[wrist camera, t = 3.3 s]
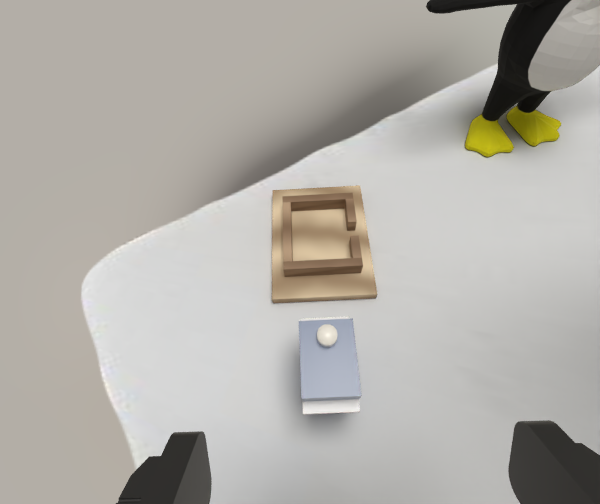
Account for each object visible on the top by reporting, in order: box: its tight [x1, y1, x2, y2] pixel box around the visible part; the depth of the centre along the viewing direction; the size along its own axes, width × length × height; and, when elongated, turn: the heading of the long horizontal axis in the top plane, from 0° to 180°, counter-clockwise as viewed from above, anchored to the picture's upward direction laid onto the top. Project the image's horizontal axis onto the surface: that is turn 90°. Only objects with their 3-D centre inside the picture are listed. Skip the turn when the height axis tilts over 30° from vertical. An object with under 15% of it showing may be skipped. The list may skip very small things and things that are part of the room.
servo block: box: [299, 316, 362, 415], centre depth 31 cm, size 8×4×11 cm, turn 2°
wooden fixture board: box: [272, 186, 377, 303], centre depth 42 cm, size 16×12×3 cm
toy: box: [426, 0, 600, 157], centre depth 39 cm, size 37×12×30 cm, turn 105°
